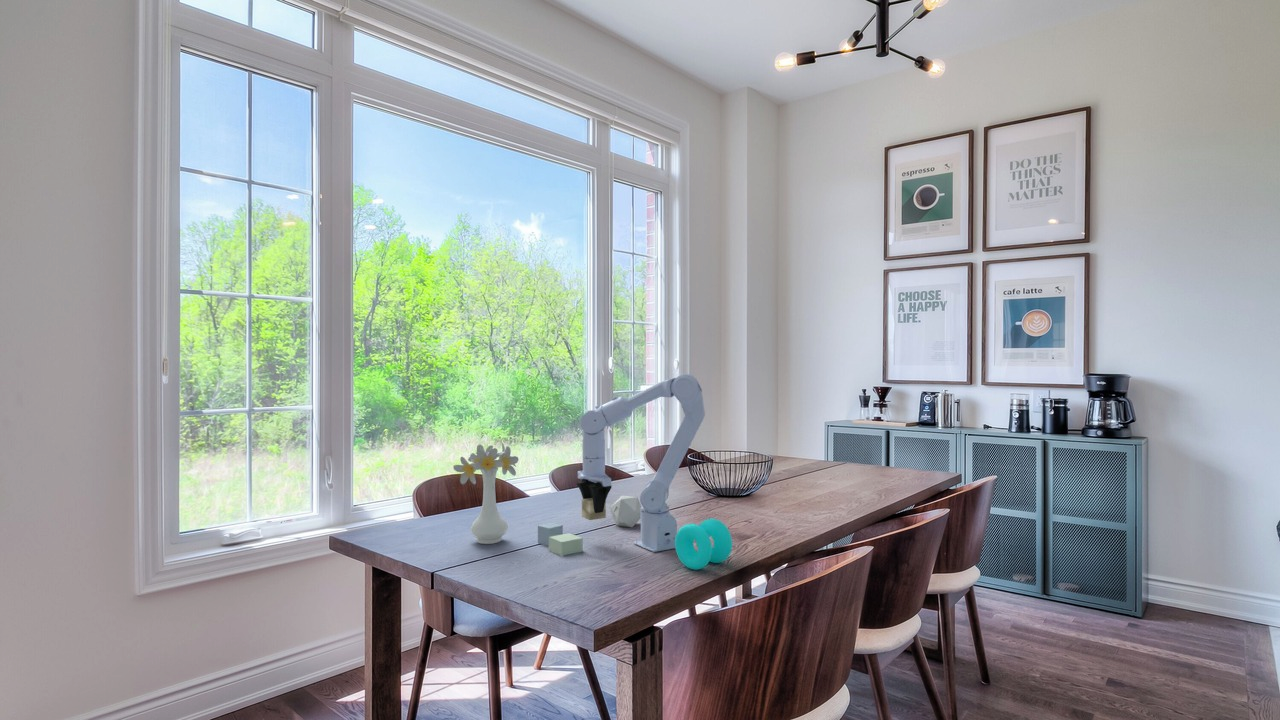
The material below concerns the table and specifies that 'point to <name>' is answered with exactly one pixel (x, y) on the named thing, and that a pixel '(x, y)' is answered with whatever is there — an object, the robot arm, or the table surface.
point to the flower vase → (488, 490)
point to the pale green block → (565, 544)
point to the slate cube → (548, 532)
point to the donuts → (703, 543)
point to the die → (626, 511)
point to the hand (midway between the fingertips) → (594, 510)
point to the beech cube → (591, 510)
